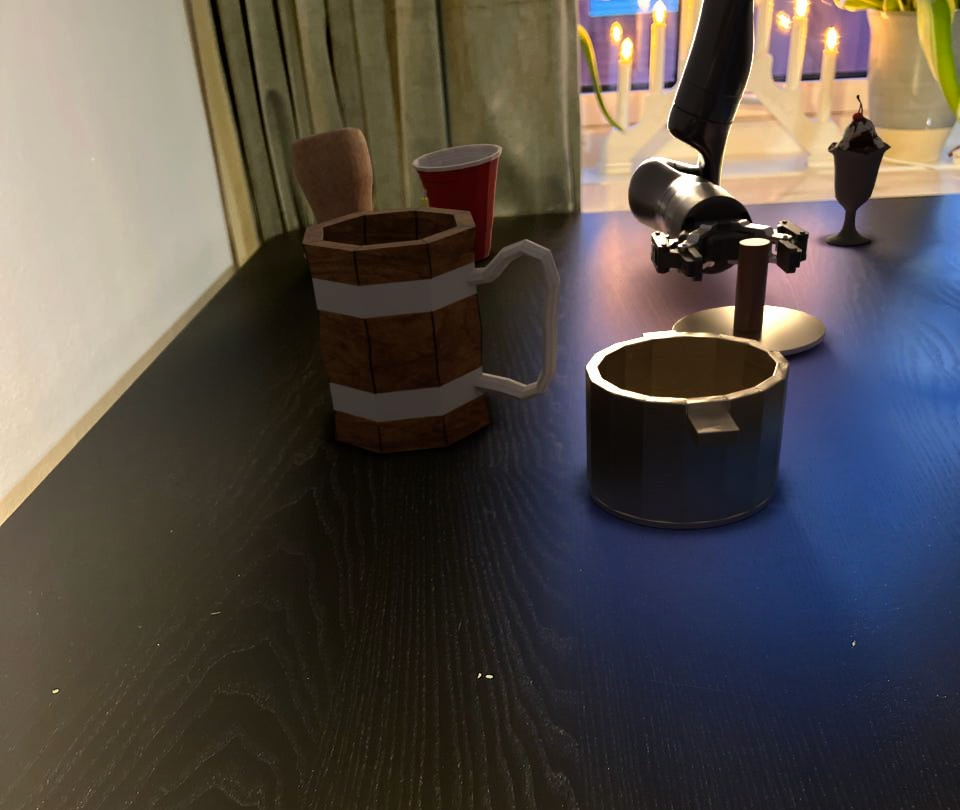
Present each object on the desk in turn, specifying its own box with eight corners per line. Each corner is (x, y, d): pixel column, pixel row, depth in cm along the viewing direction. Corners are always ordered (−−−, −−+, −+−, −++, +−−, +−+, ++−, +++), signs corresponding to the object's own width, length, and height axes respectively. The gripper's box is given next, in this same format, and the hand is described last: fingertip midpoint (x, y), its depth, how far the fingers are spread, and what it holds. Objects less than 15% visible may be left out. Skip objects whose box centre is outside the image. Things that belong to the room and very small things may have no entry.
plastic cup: (408, 257, 125) (396, 153, 118) (483, 241, 128) (476, 140, 122) (445, 274, 117) (434, 164, 110) (524, 257, 120) (518, 149, 113)
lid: (797, 311, 96) (807, 217, 91) (846, 357, 85) (860, 254, 80) (659, 323, 96) (661, 231, 91) (689, 371, 85) (694, 269, 80)
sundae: (838, 230, 119) (855, 90, 111) (888, 238, 115) (910, 93, 106) (805, 242, 116) (820, 99, 108) (855, 250, 112) (876, 101, 103)
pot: (737, 426, 75) (746, 314, 70) (813, 541, 60) (831, 409, 55) (573, 440, 75) (571, 329, 70) (608, 558, 60) (608, 429, 55)
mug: (302, 448, 78) (264, 250, 69) (367, 385, 88) (342, 207, 79) (542, 464, 72) (533, 251, 63) (582, 395, 82) (579, 204, 74)
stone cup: (329, 243, 134) (310, 120, 126) (411, 242, 131) (397, 116, 122) (281, 274, 123) (256, 141, 114) (369, 274, 119) (350, 137, 111)
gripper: (637, 193, 100) (669, 229, 87) (777, 181, 100) (830, 215, 87) (636, 269, 104) (666, 315, 91) (770, 257, 104) (819, 301, 91)
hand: (746, 266), depth 89 cm, fingers open, 8 cm apart
